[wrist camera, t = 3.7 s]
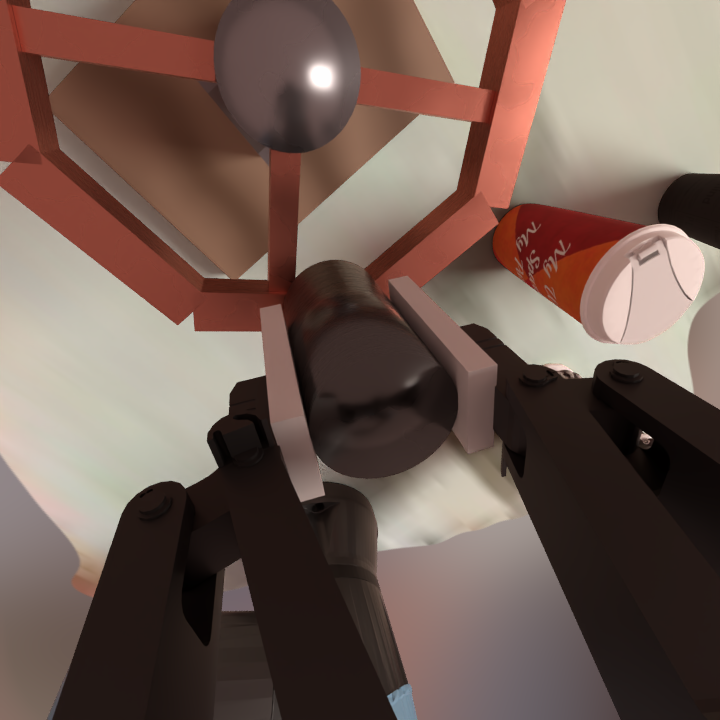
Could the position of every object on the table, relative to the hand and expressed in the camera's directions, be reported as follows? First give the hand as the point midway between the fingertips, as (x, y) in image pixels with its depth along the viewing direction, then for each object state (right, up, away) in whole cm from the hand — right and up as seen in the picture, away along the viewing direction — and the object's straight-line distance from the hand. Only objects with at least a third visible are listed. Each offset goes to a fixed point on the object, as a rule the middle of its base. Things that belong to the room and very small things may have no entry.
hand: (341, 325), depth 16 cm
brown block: (-5, +16, +11) cm, 20 cm away
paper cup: (+15, +9, +21) cm, 27 cm away
